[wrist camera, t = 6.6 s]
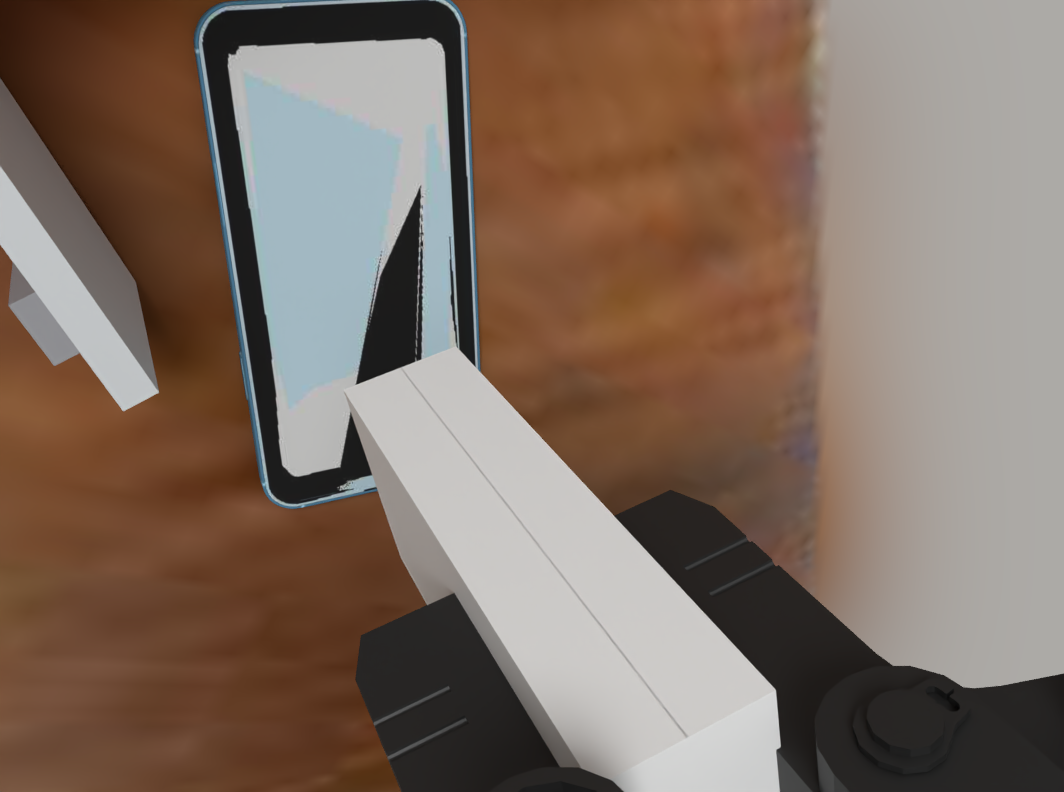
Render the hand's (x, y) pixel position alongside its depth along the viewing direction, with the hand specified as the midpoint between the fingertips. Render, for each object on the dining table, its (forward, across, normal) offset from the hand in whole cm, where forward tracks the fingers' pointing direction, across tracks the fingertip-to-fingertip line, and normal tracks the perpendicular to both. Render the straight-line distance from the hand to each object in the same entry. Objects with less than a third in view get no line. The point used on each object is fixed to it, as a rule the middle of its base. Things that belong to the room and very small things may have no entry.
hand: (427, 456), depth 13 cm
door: (+16, -5, +3) cm, 17 cm away
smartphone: (+18, +3, -4) cm, 18 cm away
